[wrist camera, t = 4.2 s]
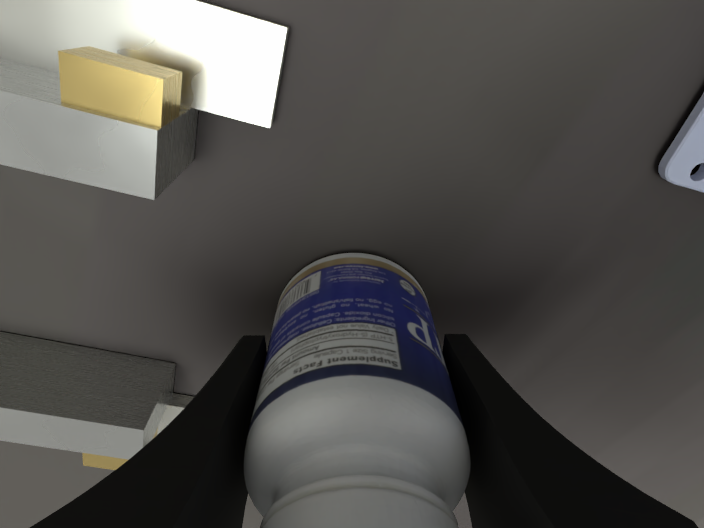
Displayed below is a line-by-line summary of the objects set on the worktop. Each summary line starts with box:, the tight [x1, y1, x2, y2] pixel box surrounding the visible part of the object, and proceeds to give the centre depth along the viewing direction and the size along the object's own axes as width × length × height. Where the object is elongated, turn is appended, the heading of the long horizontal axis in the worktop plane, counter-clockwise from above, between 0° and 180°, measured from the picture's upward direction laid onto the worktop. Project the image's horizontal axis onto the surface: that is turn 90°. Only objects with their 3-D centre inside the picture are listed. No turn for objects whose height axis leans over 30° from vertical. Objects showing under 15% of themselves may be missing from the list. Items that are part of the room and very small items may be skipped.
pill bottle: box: [244, 253, 471, 528], centre depth 11 cm, size 5×5×9 cm
